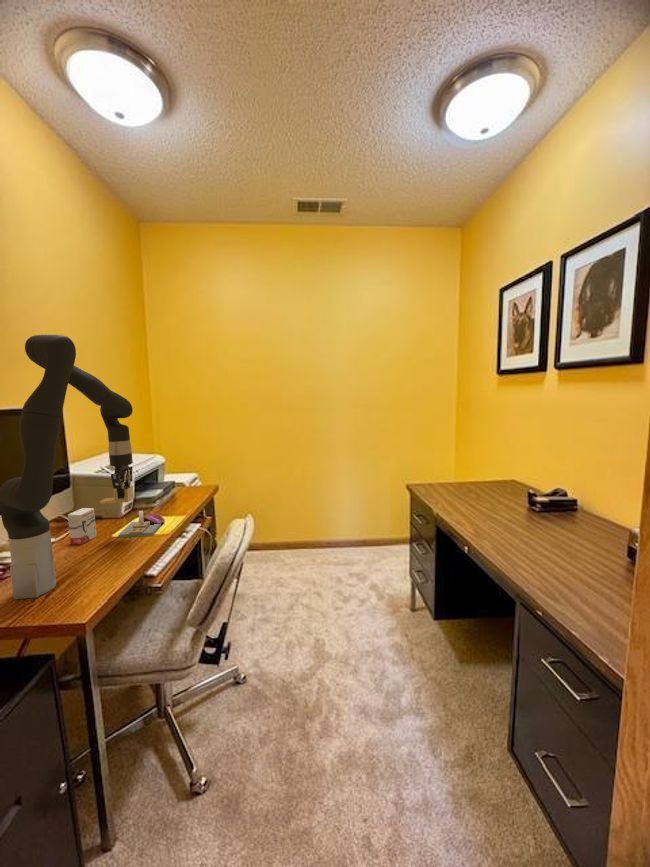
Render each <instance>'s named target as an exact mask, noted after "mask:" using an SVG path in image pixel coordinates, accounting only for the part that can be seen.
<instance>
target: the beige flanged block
mask: <svg viewBox="0 0 650 867" xmlns="http://www.w3.org/2000/svg"><path fill="white" fill-rule="evenodd" d="M112 491H113V497H105V498H103V499H101V500H100V501H99V504H116V503H129V502H131V501H132V500H134V488H133V485H130V486H126V487H124V496H125V497H124V498H123V499H118V497H117V489H114V488H113V490H112Z"/></svg>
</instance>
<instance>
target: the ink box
mask: <svg viewBox="0 0 650 867" xmlns="http://www.w3.org/2000/svg"><path fill="white" fill-rule="evenodd" d="M67 521H68V530H69V540H70V545H71V546H72V545H84V544H85V543H87V542H89V541H91V540H92V539H94V538H96V537H97V536H98V535H97V527H96V526H97V525H96V515H95V508H92V507H91V508H90V507H82V508H79V509H77V510H75V511H73V512H70V513H68V515H67Z"/></svg>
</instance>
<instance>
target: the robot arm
mask: <svg viewBox="0 0 650 867" xmlns="http://www.w3.org/2000/svg"><path fill="white" fill-rule="evenodd" d="M24 350H25V354H26V355H27V357H28V359H29V360H30V361H31V362H33V363H34V364H35V365H37V366H39V367H40V368H42V369H44V374H43V377H42V379H41V381H40V383H39V384H38V386H37V387H36V388H35V389H34V391H33V392H32V393H31V394H30V396H28V398H27V399H26V401H25V402H24V405H22V406H23V407H22V408H21V413H20V418H19V425H18V435H19V440H20V444H21V448H22V450H23V451H22V452H23V455H24V456H23V457H24V463H23V470H22V474H21V477H20V476H18V477H13V478H9V479H8V480H6V481H5V482H4V483H3V484H2V486H1V487H0V515H1V521H2V525H3V527H4V529H5V531H6V532H7V533H6V534H7V538H8V545H9V554H10V562H11V566H10V568H9V571H10V576H11V577H10V579H11V585H12V588H11V589H12V595H13V600H22V599H32V598H33V599H35V598H39V597H40V596H42V595H44V594H47V593H49V592H50V591H52V590H53V589H54V588H56V586H57V579H56V571H55V569H56V568H55V561H54V556H53V555H54V553H53V546H52V544H53V543H52V534H51V528H50V527H51V526H50V521H49V519H48V518H47V517H45V515H43V513H42V512H41V510H42V509H44V508H45V507H46V506H48V504H49V503H50V501H51V498H52V495H53V487H54V466H55V459H56V458H55V457H56V452H57V445H58V438H59V434H60V429H61V424H62V417H63V410H64V404H65V400H66V396H67V389H68V385H70V386H71V387H73V388H75V389H76V390H77V391H79V392H80V393H81V394H82V395H84V396H85V397H86V398H87V399H88V400H90V402H92V404H93V403H94V404H95V405H96V406H99V407H100V408H99V411H100V416H101V418H102V420H103V424H104V426H105V427H106V430H107V438H108V439H107V440H108V446H107V447H108V456H109V457H108V460H109V466H111V467H113V468H114V473H110V477H111V483H112V488H113V490H114V489H117V497H118V499H123V498H124V497H125V496H124V487H126V486H131V484H132V482H133V466H131V465H132V464H133V462H134V461H133V451H132V444H131V439H130V438H131V436H130V428H129V426H128V425H127V424H123V423H120V421H119V419H126V418H127V419H128V418H129V417H131V416H132V414H133V409H134V408H133V405H132V404H131V402H130V401H129V400H128V399H127V398H126V397H124V396H122V395H121V394H119V393H117V392H115V391H113V390H111V389H110V388H109V387H108V385H106V384H105V383H104V382H103V381H102V380H101V379H100V378H97V377H96V376H94V375H93V374H91V373H89V372H87V371H85V370H83V369H81V368H80V367H77V366H76V365H75V362H76V358H77V357H76V356H77V351H76V350H77V349H76V346H75V343H74V342H73V340H72V339H71V338H70V336H69V337H68V336H66V335H63V334H38V335H37V334H36V335H35V334H34V335H32V336H30V337H29V338H27V339H26V341H25V344H24Z"/></svg>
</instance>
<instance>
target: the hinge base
mask: <svg viewBox="0 0 650 867" xmlns="http://www.w3.org/2000/svg"><path fill="white" fill-rule="evenodd" d="M144 521H145V519H144V510H138V521H132V522H130V523H129V524H128V525H127V526H126V527H125V528H124V529H123V530H122V531H120V533H118V534H117V536H118V539H119V538H135V537H149V536H154V535H155V534H156V533H157V532H158V530H159V529H160V528H161V527H162V525H161V523H162V522H164V521H165V520H162V522H161V523H160V524H154V525H150V521H151V520H148V521H147V520H146V521H145V522H144Z"/></svg>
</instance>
